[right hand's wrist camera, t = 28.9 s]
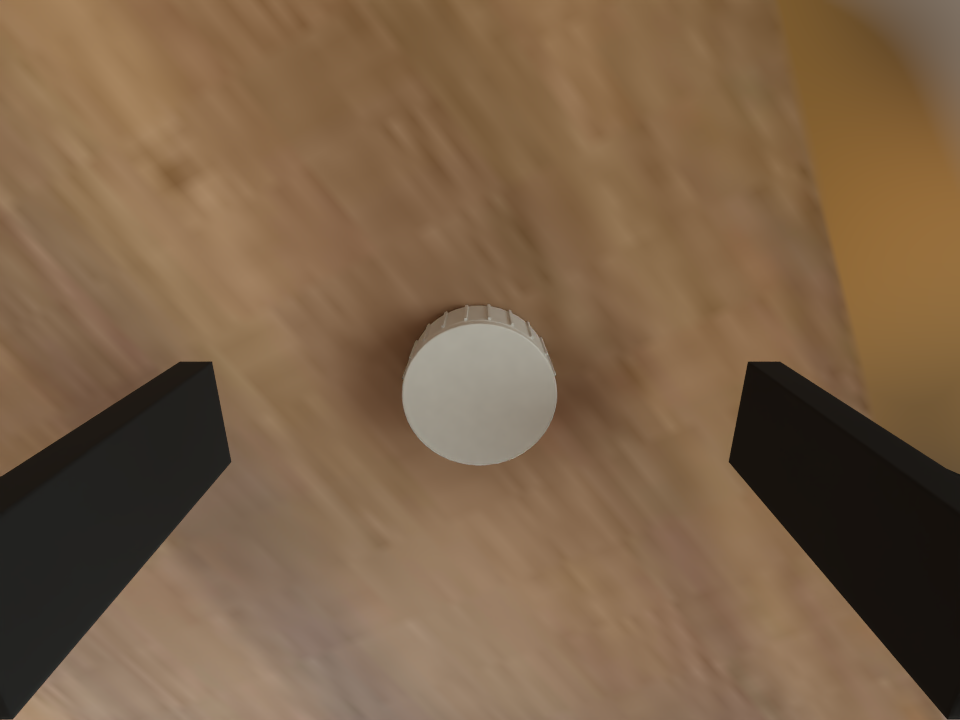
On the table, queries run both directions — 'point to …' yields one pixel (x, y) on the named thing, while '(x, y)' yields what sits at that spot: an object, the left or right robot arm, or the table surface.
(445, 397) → the cap
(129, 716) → the table surface
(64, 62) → the table surface
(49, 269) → the table surface
